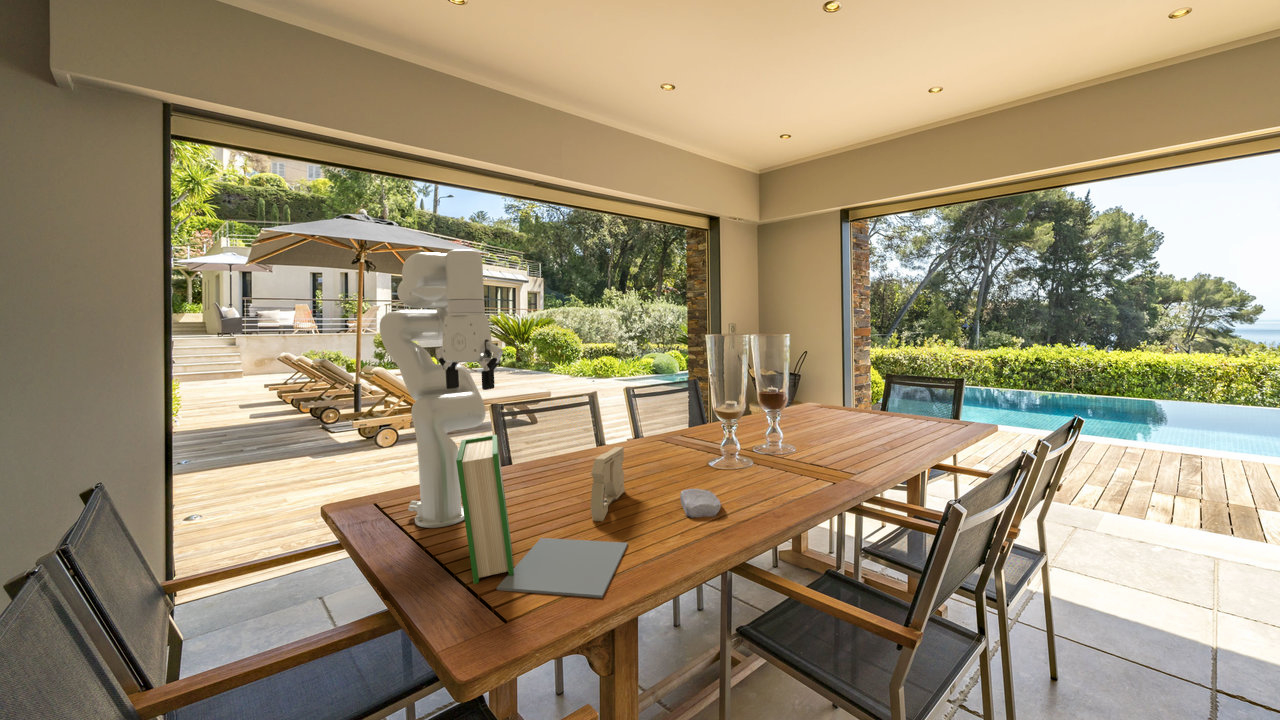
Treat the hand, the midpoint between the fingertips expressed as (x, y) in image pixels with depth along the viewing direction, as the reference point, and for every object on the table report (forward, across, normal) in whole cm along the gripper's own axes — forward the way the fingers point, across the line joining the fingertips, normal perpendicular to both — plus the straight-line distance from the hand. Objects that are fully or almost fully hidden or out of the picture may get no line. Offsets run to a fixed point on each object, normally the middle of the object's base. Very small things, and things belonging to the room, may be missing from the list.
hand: (470, 388), depth 111 cm
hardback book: (+35, +8, -4) cm, 36 cm away
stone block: (+36, +40, +39) cm, 66 cm away
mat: (+35, +23, -1) cm, 42 cm away
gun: (+35, +16, +34) cm, 51 cm away
